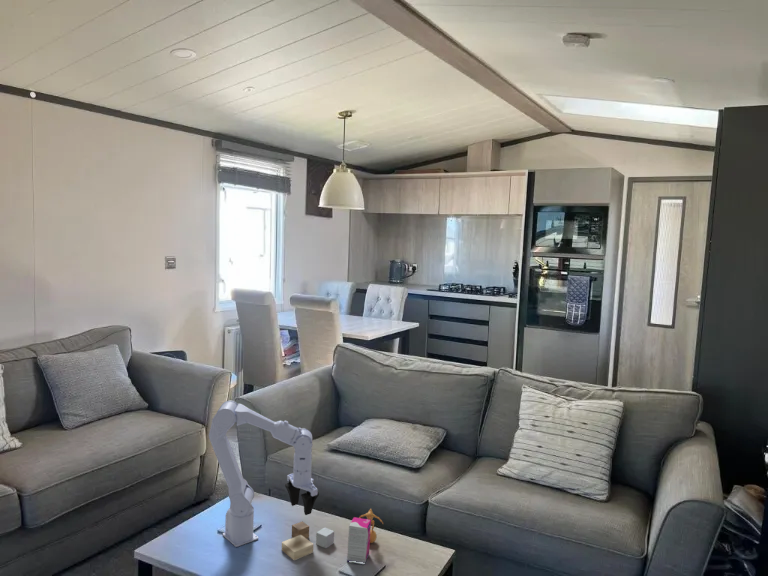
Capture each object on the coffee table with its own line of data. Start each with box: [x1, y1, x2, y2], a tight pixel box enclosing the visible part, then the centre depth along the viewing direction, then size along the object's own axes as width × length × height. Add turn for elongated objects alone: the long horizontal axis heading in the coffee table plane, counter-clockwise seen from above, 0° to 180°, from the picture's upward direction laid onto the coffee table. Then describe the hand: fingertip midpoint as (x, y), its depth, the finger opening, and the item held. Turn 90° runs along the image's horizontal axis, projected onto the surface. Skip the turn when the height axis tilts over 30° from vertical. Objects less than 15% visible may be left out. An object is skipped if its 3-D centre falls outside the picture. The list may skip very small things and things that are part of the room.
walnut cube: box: [291, 520, 310, 540], centre depth 178 cm, size 4×4×4 cm
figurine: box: [358, 508, 384, 544], centre depth 176 cm, size 8×6×12 cm
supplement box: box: [346, 516, 372, 564], centre depth 167 cm, size 6×6×12 cm
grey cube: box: [315, 527, 335, 549], centre depth 175 cm, size 4×4×4 cm
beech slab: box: [281, 535, 315, 561], centre depth 170 cm, size 7×7×3 cm
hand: (301, 509), depth 178 cm, fingers open, 7 cm apart
